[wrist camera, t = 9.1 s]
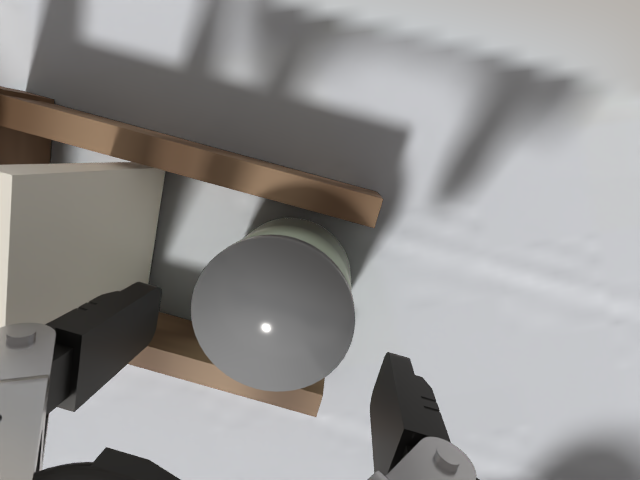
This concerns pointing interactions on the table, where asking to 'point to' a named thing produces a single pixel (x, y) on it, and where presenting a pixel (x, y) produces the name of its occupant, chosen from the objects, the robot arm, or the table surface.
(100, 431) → the table surface
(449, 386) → the table surface
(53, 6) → the table surface
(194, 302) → the jar
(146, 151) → the lane
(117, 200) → the pusher plate
